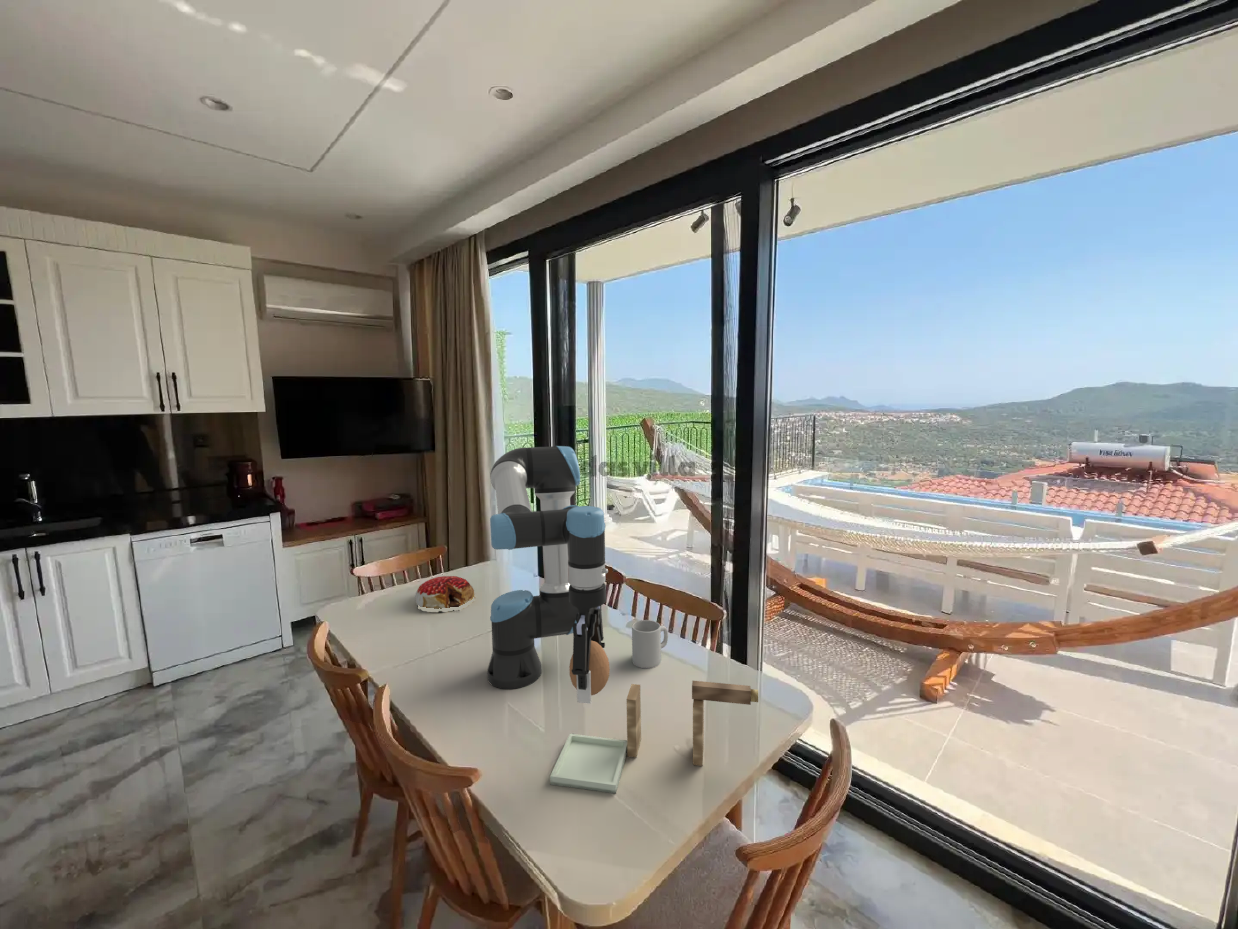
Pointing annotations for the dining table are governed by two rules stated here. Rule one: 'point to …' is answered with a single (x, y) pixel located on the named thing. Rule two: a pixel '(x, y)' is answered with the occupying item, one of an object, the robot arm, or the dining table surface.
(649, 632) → the mug
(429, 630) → the dining table surface
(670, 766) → the dining table surface
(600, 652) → the egg
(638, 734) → the wooden post pair
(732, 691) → the wooden crossbeam
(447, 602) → the cake
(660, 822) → the dining table surface
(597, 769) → the dish
